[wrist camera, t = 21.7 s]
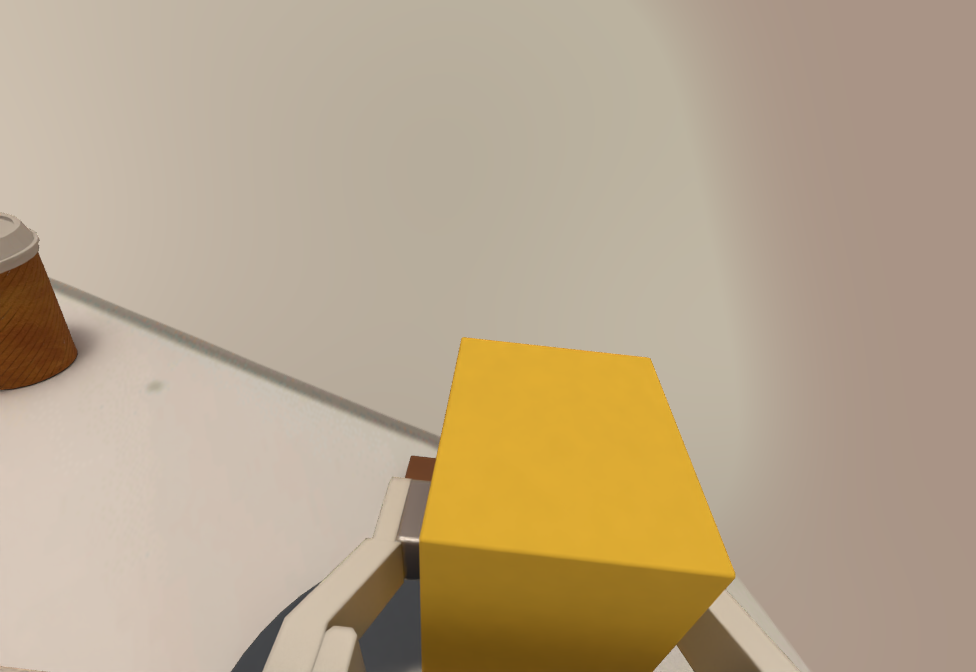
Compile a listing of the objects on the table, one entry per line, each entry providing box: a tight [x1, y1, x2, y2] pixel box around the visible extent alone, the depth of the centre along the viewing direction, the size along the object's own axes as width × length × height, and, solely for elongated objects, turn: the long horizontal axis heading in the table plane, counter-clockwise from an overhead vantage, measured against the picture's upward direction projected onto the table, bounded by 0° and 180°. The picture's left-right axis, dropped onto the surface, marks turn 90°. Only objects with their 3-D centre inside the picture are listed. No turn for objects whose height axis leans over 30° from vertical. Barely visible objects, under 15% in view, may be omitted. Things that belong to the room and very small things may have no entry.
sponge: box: [419, 337, 735, 672], centre depth 11 cm, size 5×4×9 cm
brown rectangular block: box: [405, 456, 436, 481], centre depth 30 cm, size 4×5×1 cm
